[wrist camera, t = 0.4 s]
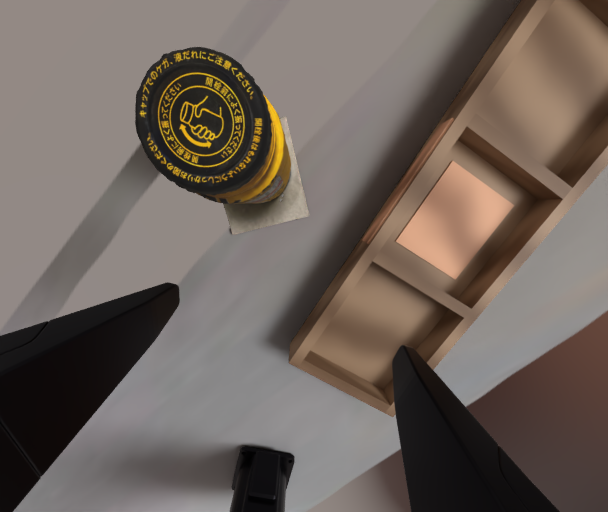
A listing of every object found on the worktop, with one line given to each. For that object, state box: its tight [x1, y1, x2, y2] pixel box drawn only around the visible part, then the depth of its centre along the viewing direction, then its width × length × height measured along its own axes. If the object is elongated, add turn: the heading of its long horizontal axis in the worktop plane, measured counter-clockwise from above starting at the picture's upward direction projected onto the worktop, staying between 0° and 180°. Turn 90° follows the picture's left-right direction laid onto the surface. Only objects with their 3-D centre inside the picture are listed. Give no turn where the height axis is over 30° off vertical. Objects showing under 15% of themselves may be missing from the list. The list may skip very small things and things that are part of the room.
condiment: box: [135, 47, 309, 235], centre depth 15 cm, size 7×8×12 cm
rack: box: [289, 0, 608, 417], centre depth 20 cm, size 37×12×3 cm, turn 148°
